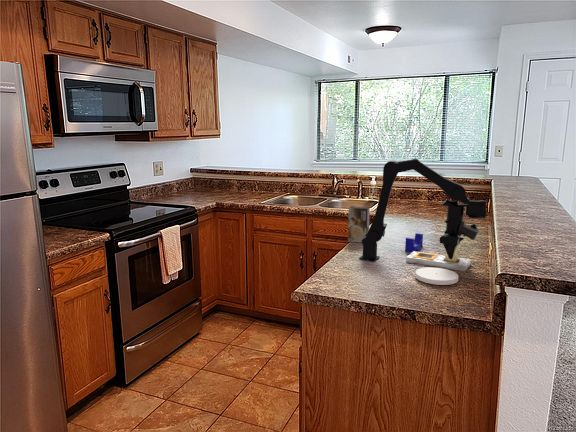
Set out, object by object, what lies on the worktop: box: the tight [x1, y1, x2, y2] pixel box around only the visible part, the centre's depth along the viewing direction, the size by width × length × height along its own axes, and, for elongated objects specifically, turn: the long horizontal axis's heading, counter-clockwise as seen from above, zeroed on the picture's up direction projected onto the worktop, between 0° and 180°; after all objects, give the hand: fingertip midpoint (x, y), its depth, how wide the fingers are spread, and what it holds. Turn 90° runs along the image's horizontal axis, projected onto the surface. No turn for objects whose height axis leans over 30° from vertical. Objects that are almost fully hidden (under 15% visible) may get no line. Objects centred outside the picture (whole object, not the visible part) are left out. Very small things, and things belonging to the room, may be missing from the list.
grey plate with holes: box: [405, 251, 472, 272], centre depth 168 cm, size 10×22×2 cm, turn 58°
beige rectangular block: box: [444, 242, 461, 263], centre depth 164 cm, size 4×4×9 cm
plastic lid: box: [414, 266, 459, 286], centre depth 149 cm, size 14×14×2 cm
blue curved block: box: [404, 232, 424, 253], centre depth 187 cm, size 12×4×6 cm, turn 142°
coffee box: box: [347, 205, 370, 243], centre depth 201 cm, size 9×6×16 cm
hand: (451, 257), depth 165 cm, fingers closed on beige rectangular block, 4 cm apart
